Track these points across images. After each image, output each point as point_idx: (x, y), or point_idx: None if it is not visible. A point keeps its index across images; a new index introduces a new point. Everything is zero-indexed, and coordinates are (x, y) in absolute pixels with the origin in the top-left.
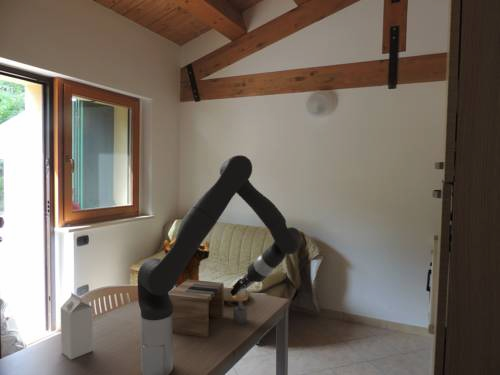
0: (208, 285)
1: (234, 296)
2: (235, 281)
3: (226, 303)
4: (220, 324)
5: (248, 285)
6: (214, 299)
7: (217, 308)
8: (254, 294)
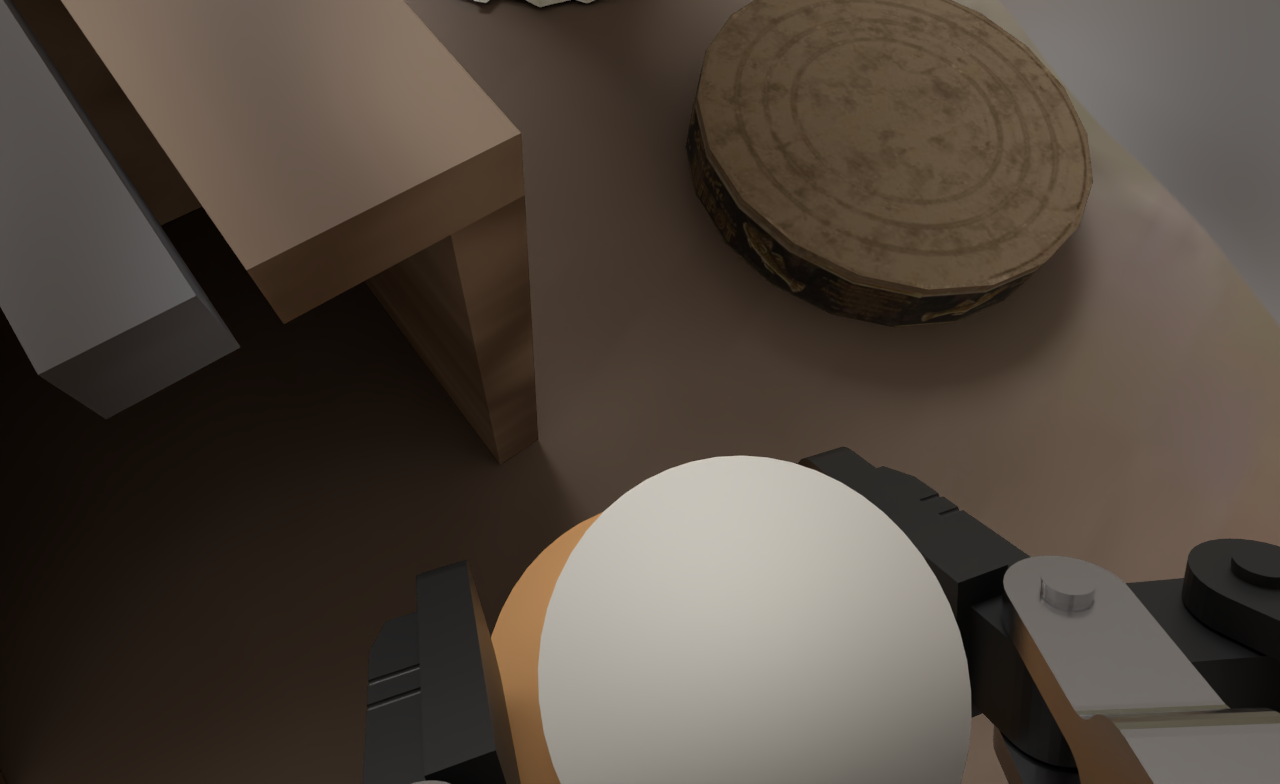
0: (99, 53)
1: (527, 644)
2: (625, 496)
3: (734, 226)
4: (364, 605)
5: (1011, 769)
6: (403, 267)
7: (450, 369)
8: (1138, 199)
